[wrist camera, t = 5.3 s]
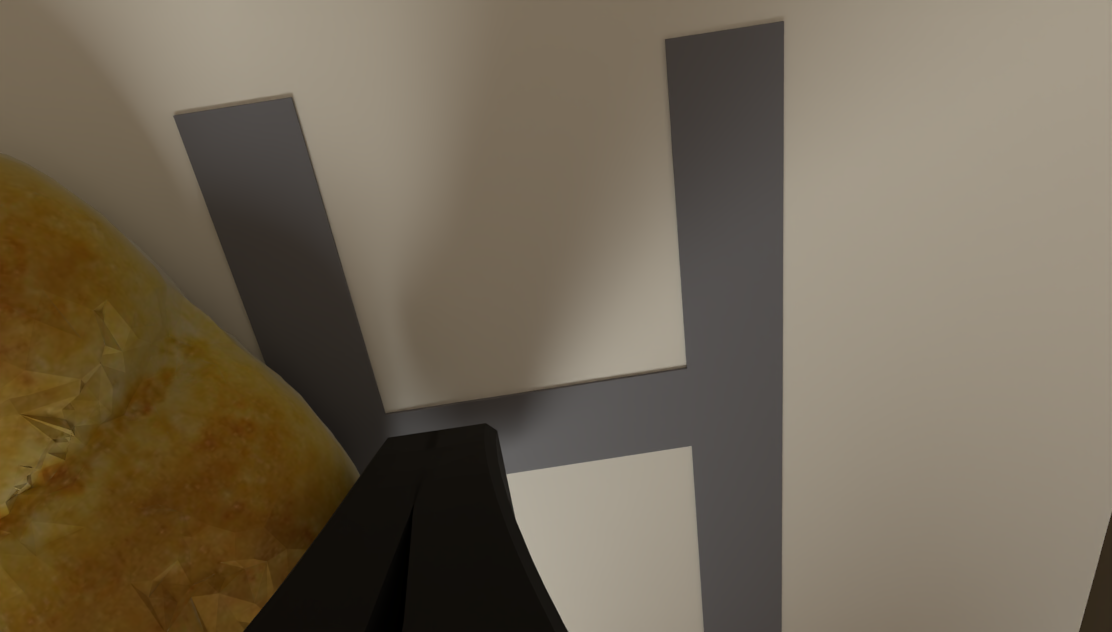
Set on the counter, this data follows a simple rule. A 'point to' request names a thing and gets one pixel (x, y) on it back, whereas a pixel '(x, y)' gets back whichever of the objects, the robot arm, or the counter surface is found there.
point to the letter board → (651, 271)
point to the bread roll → (138, 438)
